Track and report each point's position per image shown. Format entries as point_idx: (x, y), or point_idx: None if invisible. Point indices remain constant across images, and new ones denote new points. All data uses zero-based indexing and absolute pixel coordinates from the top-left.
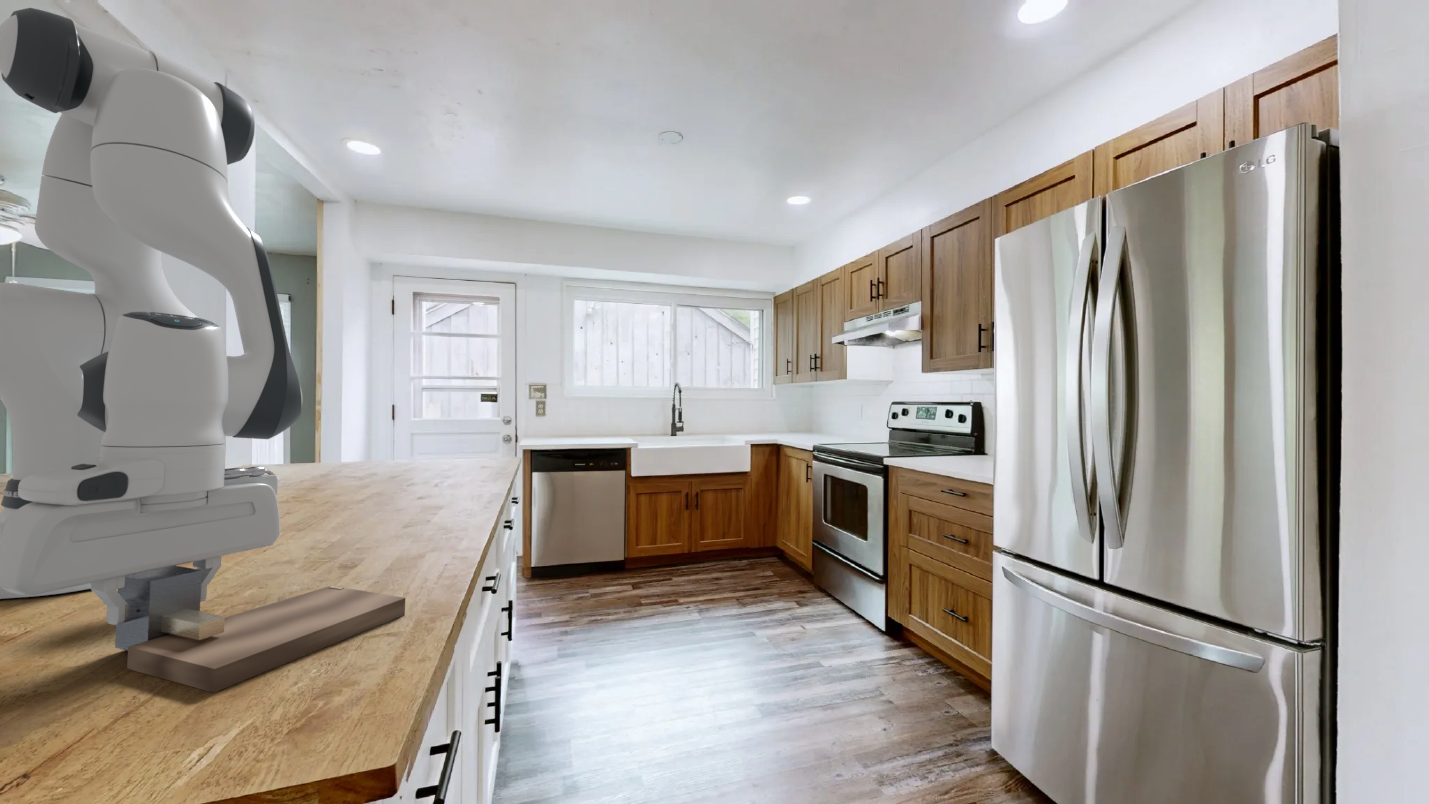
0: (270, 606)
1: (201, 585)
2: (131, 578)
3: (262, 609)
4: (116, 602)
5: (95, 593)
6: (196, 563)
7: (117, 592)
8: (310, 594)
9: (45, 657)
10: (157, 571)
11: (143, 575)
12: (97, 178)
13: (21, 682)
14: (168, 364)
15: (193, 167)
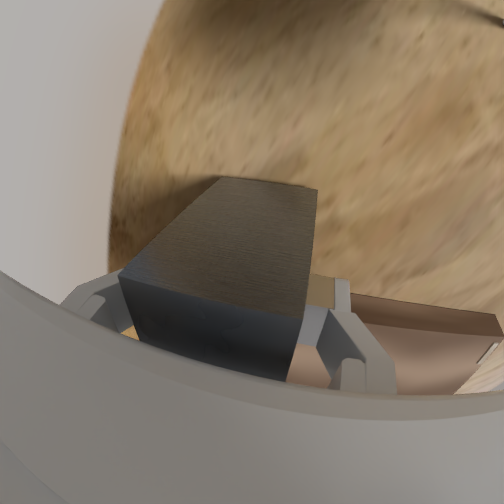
0: (405, 339)
1: (318, 350)
2: (138, 333)
3: (387, 341)
4: None
5: (92, 282)
6: (333, 385)
7: (120, 332)
8: (463, 346)
9: (169, 74)
10: (209, 351)
11: (165, 345)
12: None
13: (121, 171)
14: None
15: None
